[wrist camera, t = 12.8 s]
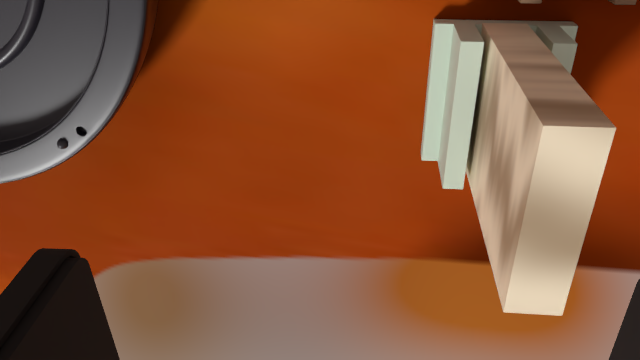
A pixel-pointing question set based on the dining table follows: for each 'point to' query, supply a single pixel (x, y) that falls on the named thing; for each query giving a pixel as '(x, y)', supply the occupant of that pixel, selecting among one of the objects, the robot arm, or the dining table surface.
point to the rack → (615, 0)
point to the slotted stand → (469, 86)
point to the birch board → (533, 167)
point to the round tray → (65, 75)
